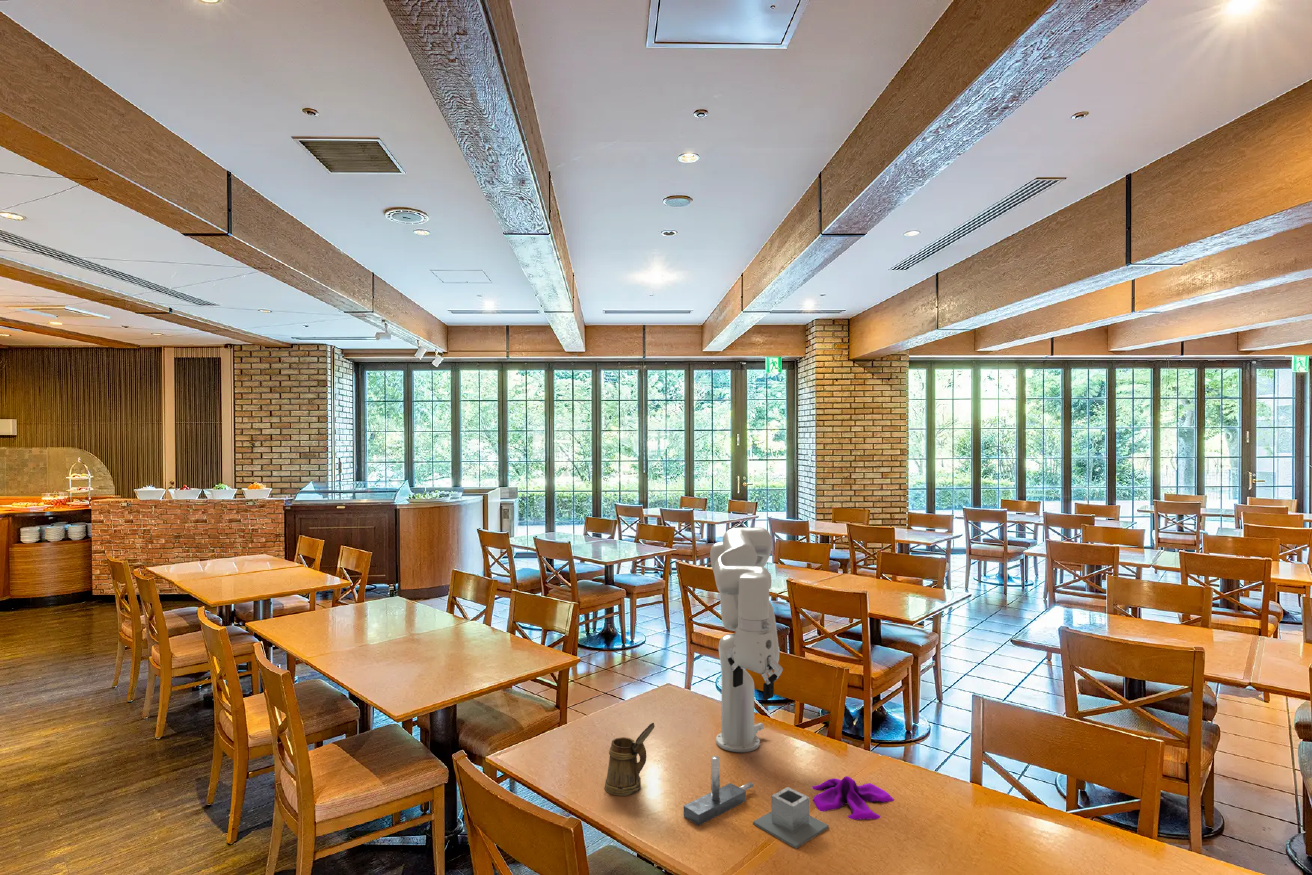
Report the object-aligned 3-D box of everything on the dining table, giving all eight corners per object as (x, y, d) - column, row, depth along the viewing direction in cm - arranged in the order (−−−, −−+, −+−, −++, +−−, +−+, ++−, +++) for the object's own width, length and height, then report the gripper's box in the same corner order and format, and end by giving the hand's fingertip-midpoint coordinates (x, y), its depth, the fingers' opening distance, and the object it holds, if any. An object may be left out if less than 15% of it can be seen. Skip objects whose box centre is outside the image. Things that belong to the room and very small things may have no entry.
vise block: (744, 786, 164) (744, 738, 164) (759, 794, 160) (759, 745, 161) (683, 816, 150) (683, 764, 151) (698, 825, 147) (698, 772, 147)
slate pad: (786, 805, 155) (786, 802, 155) (828, 827, 146) (828, 824, 146) (753, 824, 147) (753, 821, 147) (795, 848, 138) (795, 845, 138)
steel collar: (787, 812, 151) (787, 786, 151) (809, 823, 147) (809, 797, 147) (771, 822, 147) (771, 795, 147) (792, 834, 143) (793, 806, 143)
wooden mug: (643, 805, 155) (644, 729, 156) (597, 789, 162) (598, 717, 162) (662, 788, 163) (662, 716, 163) (617, 774, 170) (618, 705, 170)
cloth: (896, 792, 163) (896, 767, 163) (887, 831, 146) (887, 803, 146) (807, 772, 172) (807, 749, 173) (789, 806, 156) (789, 781, 156)
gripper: (791, 628, 156) (790, 698, 157) (736, 612, 169) (736, 677, 170) (771, 635, 151) (771, 707, 152) (717, 618, 164) (716, 685, 165)
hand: (752, 691), depth 161 cm, fingers open, 9 cm apart
